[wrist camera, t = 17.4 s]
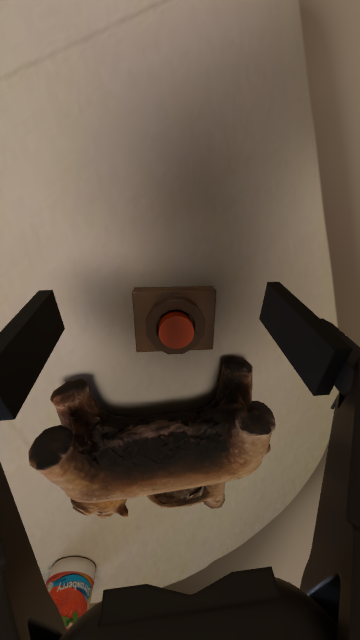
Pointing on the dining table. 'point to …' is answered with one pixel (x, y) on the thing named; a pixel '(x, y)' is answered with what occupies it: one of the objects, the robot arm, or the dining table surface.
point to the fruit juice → (71, 587)
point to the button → (176, 330)
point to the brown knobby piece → (154, 448)
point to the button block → (164, 300)
